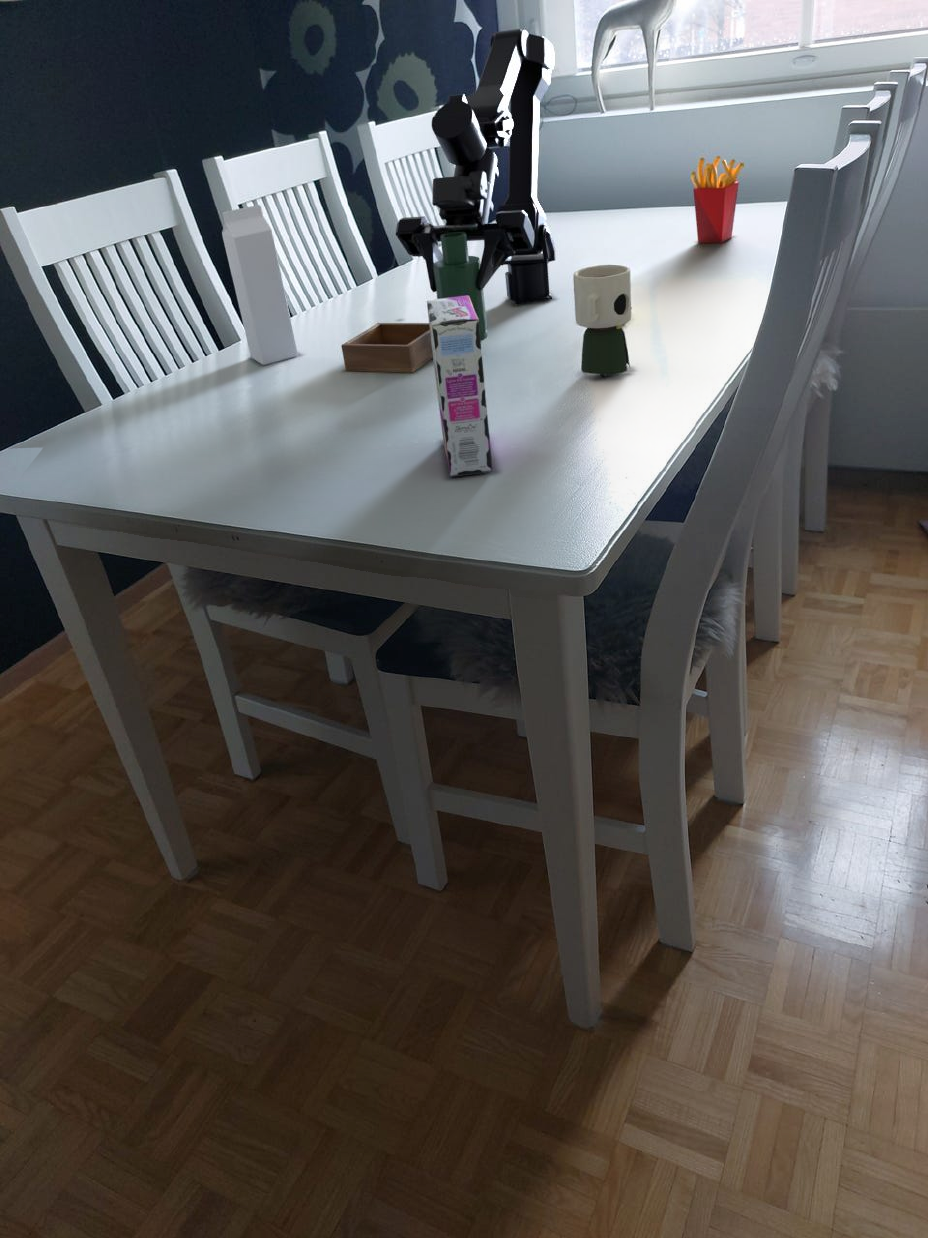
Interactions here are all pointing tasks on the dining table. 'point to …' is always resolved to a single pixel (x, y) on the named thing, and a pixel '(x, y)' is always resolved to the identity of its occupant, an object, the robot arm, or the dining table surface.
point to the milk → (258, 285)
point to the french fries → (715, 200)
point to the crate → (389, 348)
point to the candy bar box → (460, 384)
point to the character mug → (603, 317)
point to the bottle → (460, 275)
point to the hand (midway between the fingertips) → (455, 289)
